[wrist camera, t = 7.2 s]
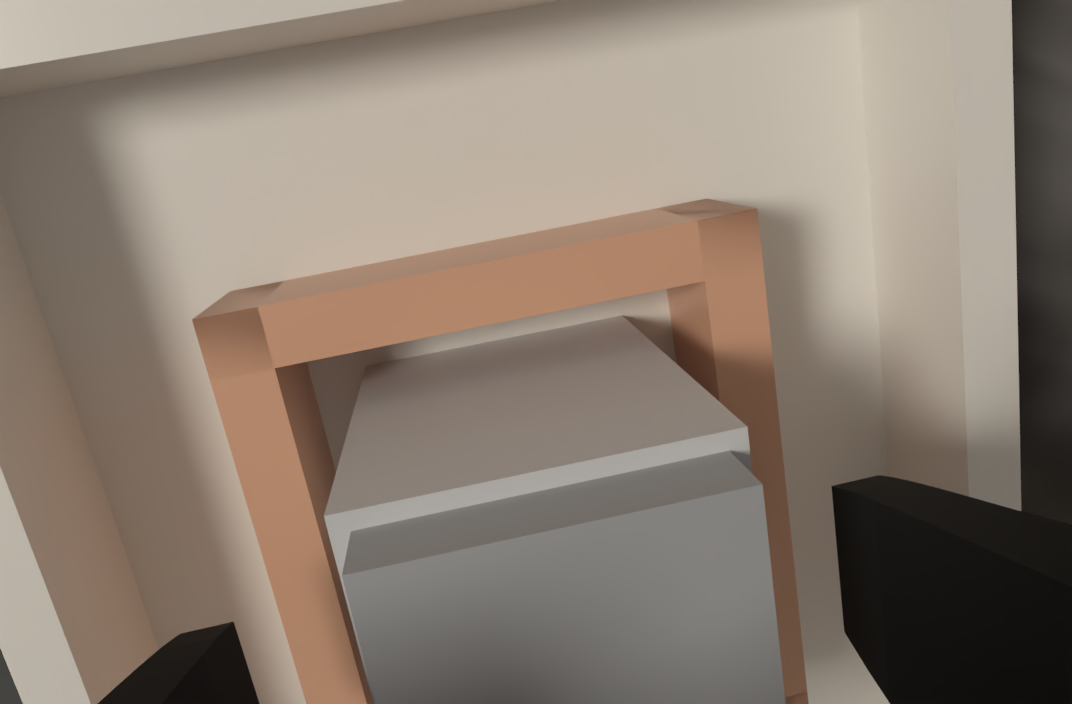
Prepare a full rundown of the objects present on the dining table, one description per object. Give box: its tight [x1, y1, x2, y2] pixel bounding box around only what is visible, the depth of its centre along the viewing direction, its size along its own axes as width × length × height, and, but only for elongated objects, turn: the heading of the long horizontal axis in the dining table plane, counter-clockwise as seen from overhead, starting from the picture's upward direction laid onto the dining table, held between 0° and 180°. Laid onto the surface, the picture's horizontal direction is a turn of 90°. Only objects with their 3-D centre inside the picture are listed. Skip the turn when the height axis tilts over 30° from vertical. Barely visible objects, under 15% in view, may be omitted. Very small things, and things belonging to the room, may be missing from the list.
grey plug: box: [324, 315, 786, 704], centre depth 10 cm, size 5×4×6 cm
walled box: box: [0, 0, 1021, 704], centre depth 13 cm, size 16×14×3 cm
